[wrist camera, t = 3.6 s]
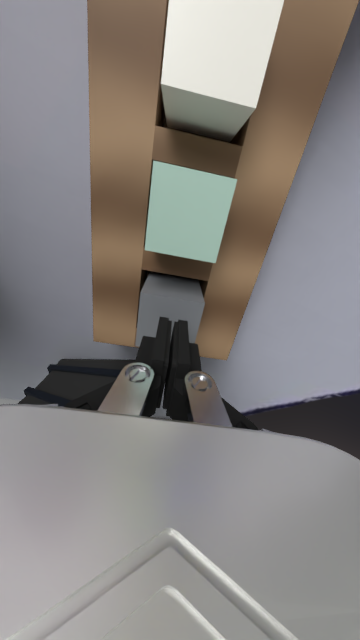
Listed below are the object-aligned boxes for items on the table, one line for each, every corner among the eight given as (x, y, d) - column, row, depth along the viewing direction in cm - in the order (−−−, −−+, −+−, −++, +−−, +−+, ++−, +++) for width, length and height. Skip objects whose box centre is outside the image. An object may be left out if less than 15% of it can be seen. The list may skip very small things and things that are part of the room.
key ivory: (178, 27, 11) (178, -97, 6) (251, 48, 11) (298, -56, 7) (167, 127, 13) (160, 83, 8) (229, 142, 13) (255, 108, 9)
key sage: (161, 175, 14) (153, 160, 9) (219, 188, 14) (237, 179, 10) (154, 238, 16) (144, 250, 11) (205, 248, 16) (215, 263, 12)
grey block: (150, 270, 17) (140, 292, 12) (198, 279, 17) (205, 303, 13) (145, 313, 19) (135, 346, 14) (188, 320, 19) (191, 354, 15)
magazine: (172, 389, 26) (71, 541, 14) (93, 359, 31) (-32, 453, 19) (172, 366, 24) (57, 517, 12) (88, 338, 29) (-53, 427, 17)
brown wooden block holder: (121, -7, 13) (84, -143, 8) (304, 47, 14) (374, -42, 9) (111, 313, 23) (93, 341, 18) (217, 329, 24) (226, 360, 19)
